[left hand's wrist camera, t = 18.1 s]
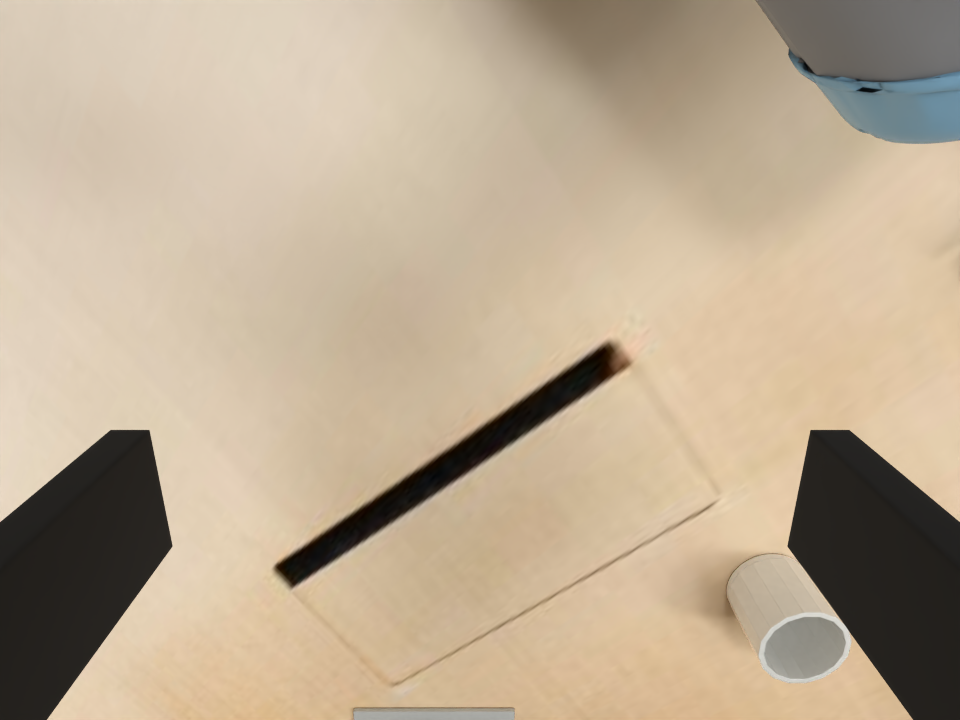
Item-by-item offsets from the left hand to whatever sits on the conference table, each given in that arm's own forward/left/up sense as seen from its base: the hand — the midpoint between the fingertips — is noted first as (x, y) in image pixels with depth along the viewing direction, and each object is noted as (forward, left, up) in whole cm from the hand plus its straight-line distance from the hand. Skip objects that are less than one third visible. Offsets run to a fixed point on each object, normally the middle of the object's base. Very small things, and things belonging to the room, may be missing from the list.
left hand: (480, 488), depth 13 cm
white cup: (+28, +23, -31) cm, 47 cm away
